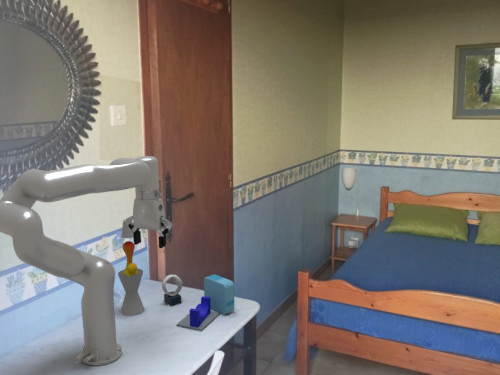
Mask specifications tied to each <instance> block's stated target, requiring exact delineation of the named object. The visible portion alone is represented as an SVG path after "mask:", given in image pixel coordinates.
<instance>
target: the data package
mask: <svg viewBox="0 0 500 375" xmlns="http://www.w3.org/2000/svg"><path fill="white" fill-rule="evenodd" d="M203 291H204V292H203V293H204V297H210V305H211V311H213V312H219V313H220V315H224V316H225V315H227V314H230V313H232V312H234V311H235V284H234V282H233V281H232V280H230V279H228V278H225V277H222V276H220V275H217V274H215V273H214V274H210V275H208V276H206V277H204V279H203Z"/></svg>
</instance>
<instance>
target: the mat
mask: <svg viewBox="0 0 500 375" xmlns="http://www.w3.org/2000/svg"><path fill="white" fill-rule="evenodd" d="M220 315H221V314H220V313H219V312H216V311H214V310H211V313H210V314H209V315H208V316H207V318H206V319H205V320H204V321H203V322H202V323H201V325H200V326H199V327H191V326H190V313H188V314H187V315H186V316H185V317H184V318H182V319H181V320H180V321H178V322H177V324H176V325H175V326H176V327H180V328H183V329H189V330H194V331H199V332H202V331H204V330H205V329H206V328H207V327H208V326H210V324H212V323H213V322H214V321H215V319H216V318H218V317H219V316H220Z"/></svg>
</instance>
